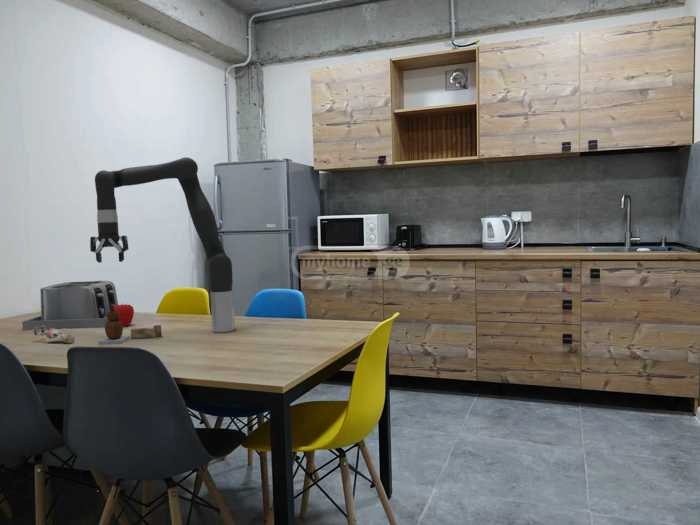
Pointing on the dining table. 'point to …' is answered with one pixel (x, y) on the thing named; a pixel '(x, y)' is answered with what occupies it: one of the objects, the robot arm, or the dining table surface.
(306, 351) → the dining table surface
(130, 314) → the apple
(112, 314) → the wooden figurine
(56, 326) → the toaster tray
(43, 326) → the figurine
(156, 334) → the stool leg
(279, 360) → the dining table surface
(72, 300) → the toaster
